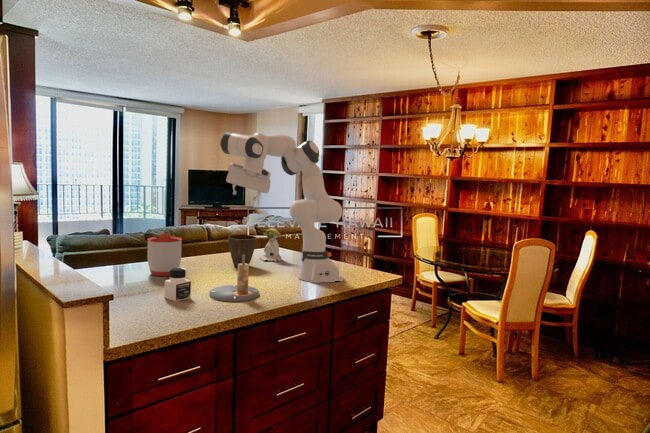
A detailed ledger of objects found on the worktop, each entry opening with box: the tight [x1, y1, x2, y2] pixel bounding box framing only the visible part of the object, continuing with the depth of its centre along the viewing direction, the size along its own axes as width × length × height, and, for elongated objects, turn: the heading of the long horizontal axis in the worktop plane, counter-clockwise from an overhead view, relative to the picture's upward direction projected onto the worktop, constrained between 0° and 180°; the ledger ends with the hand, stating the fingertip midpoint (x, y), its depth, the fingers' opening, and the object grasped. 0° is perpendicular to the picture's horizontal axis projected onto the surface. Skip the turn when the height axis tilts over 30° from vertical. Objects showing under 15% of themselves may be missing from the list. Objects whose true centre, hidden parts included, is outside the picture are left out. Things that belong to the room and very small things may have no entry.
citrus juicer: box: [146, 232, 183, 277], centre depth 201 cm, size 16×17×20 cm
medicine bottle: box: [163, 266, 192, 303], centre depth 165 cm, size 7×7×12 cm
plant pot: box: [227, 234, 258, 269], centre depth 224 cm, size 15×15×16 cm
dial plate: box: [209, 284, 260, 303], centre depth 174 cm, size 20×20×1 cm
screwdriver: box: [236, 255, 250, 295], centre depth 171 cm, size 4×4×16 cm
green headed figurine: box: [259, 227, 282, 263], centre depth 245 cm, size 12×13×18 cm
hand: (244, 197), depth 194 cm, fingers open, 8 cm apart
